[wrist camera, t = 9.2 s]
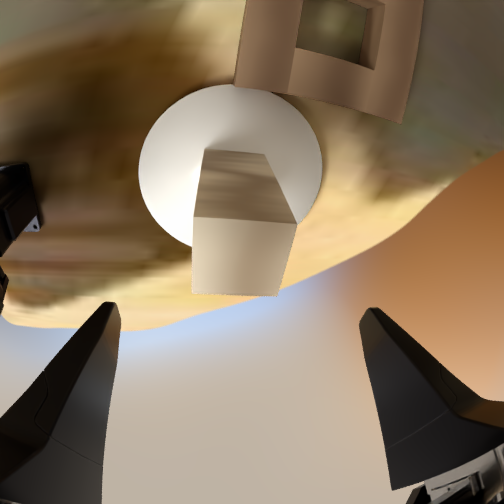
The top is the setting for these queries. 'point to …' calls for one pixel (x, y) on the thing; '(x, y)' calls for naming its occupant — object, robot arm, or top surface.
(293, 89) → the holder
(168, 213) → the plate
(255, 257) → the block
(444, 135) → the top surface
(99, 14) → the top surface
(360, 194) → the top surface
